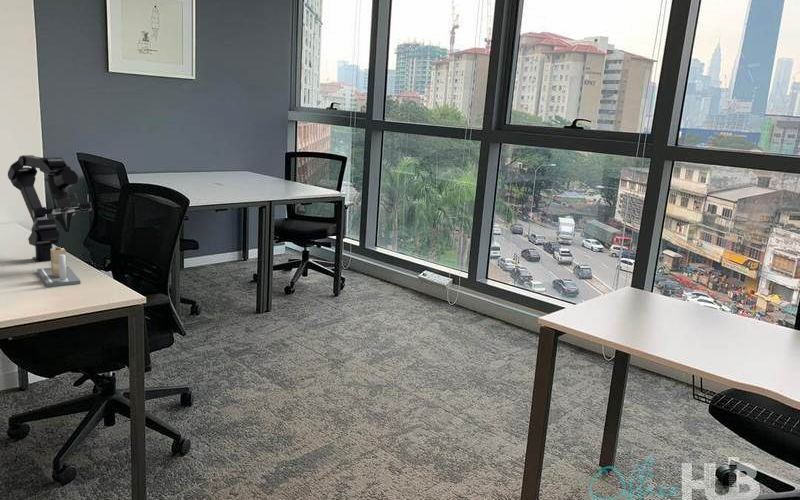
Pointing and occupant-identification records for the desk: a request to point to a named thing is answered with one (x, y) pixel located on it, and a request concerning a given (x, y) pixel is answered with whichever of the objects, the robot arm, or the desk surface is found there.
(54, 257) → the pointer block
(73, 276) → the gauge board
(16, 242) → the desk surface
